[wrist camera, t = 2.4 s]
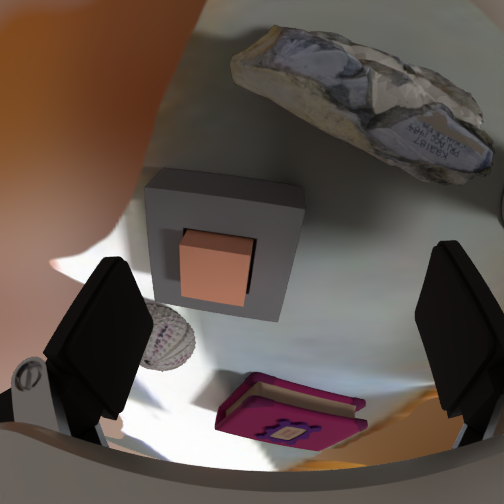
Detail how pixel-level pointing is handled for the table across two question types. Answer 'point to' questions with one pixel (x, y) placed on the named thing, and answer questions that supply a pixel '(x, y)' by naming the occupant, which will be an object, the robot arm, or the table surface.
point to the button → (215, 266)
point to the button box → (224, 222)
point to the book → (289, 414)
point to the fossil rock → (370, 102)
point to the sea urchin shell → (168, 340)
